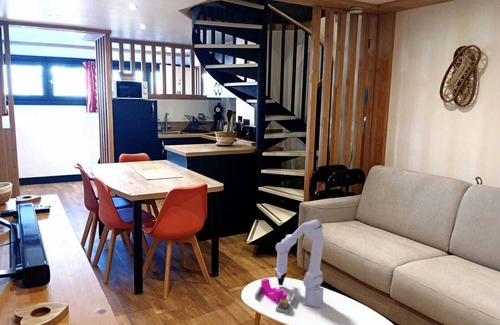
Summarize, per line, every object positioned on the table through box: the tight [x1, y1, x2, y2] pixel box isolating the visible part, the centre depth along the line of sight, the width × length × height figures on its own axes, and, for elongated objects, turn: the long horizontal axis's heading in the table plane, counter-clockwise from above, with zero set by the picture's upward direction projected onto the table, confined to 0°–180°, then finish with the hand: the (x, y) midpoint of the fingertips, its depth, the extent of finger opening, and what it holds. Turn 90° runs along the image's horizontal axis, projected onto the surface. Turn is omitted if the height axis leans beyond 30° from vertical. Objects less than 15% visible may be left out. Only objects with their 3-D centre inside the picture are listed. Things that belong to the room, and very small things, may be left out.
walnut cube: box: [279, 298, 289, 310], centre depth 200 cm, size 4×4×4 cm
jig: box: [254, 286, 296, 314], centre depth 206 cm, size 20×16×3 cm
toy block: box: [260, 278, 288, 305], centre depth 211 cm, size 15×6×8 cm, turn 33°
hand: (280, 284), depth 223 cm, fingers closed
